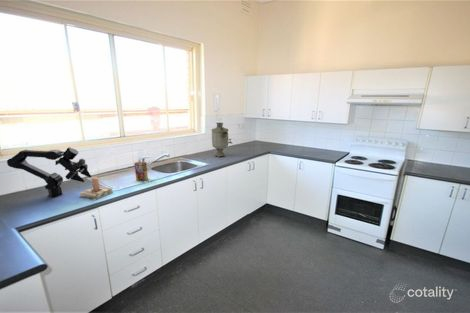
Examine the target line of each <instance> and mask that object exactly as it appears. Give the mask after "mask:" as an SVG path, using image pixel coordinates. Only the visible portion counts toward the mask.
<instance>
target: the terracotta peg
mask: <svg viewBox="0 0 470 313" xmlns="http://www.w3.org/2000/svg"><path fill="white" fill-rule="evenodd" d="M91 183H92V188H93V192H98V191H100V187H99V186H100V181H99V177H91Z"/></svg>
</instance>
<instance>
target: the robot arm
mask: <svg viewBox="0 0 470 313" xmlns="http://www.w3.org/2000/svg"><path fill="white" fill-rule="evenodd" d="M77 155H79V151H78V150H77V149H76V148H72V147H67V148H66V150H65V151H64V150H60V149H52V150H30V149H24V150H20V151H18V153H16V154H15V155H13V156H12V157H10V158H9V159H7V161H6V164H7V166H8V167H10V168H13V169H17V170H18V169H19V170H24V171H25V172H28V173H29V174H32V175H34V176H35V177H38V178H40V179H41V180H44V182H45V183H46V185H45V186H44V188H45V189H46V190H47V192H48V194H47V197H51V198H57V197H58V196H59V197H60V196H62V195H64V193H63V190H62V187H61V185H62V183H63V182H64V178H63V176H62V175H61V174H59V173H57V172H52V173H49V172H47V171H45V170H43V169H41V168H38V167H36V166H34V165H33V164H30V163H29V162H28V161H27V160H26V159H27V158H45V159H46V160H51V161H55V166H57V165H60V166H62V167H63V168H64V170H66V171H69V172H68V173H67V174H66V175H65V179H67V180H68V181H69V180H71V181H72V180H73V181H76V182H82V183H85V179H84V178H83V177H81V175H83V176H85V177H87V178H90V179H92V175H91V173H90V172H89V170H88V168H89V167H88V166H89V165H88V164H87V163H86V160H85V159H84V158H80V159H78V161H77V162H76V161H72V160H74V159H75V157H77ZM79 173H80V174H81V175H79Z"/></svg>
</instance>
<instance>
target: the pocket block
mask: <svg viewBox="0 0 470 313" xmlns="http://www.w3.org/2000/svg"><path fill="white" fill-rule="evenodd" d="M99 187H100V191H98V192H93V187H91V188H88V189H85V190H82V191H80V192H79V194H80V195H79V196H80V197H82V198H86V199H90V198H91V199H90V200H94V199H96V200H97V198H98V199H100V198H102V196H103V197H105V196H107V195H109V193H110V194H111V193H113V192H114V191H113V188H112V187H107V186H102V185H99ZM104 195H105V196H104ZM99 197H100V198H99Z"/></svg>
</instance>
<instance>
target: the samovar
mask: <svg viewBox="0 0 470 313" xmlns="http://www.w3.org/2000/svg"><path fill="white" fill-rule="evenodd" d="M215 124H216V127H215V128H212V129H211V146H212V148H214V149H216V151H217V152H216V153H215V154H214V155H213V157H215V156H216V157H217V159H219V158H220V157H223V156H224V157H227V155H226V154H225V153H224V152H223V151H224V149H226V148H228V146H229V144H232V145H233V142H232V141H231V140H232V138H229V128H228V127H227V128H226V127H224V126H223V125H224V122H216V123H215Z"/></svg>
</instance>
